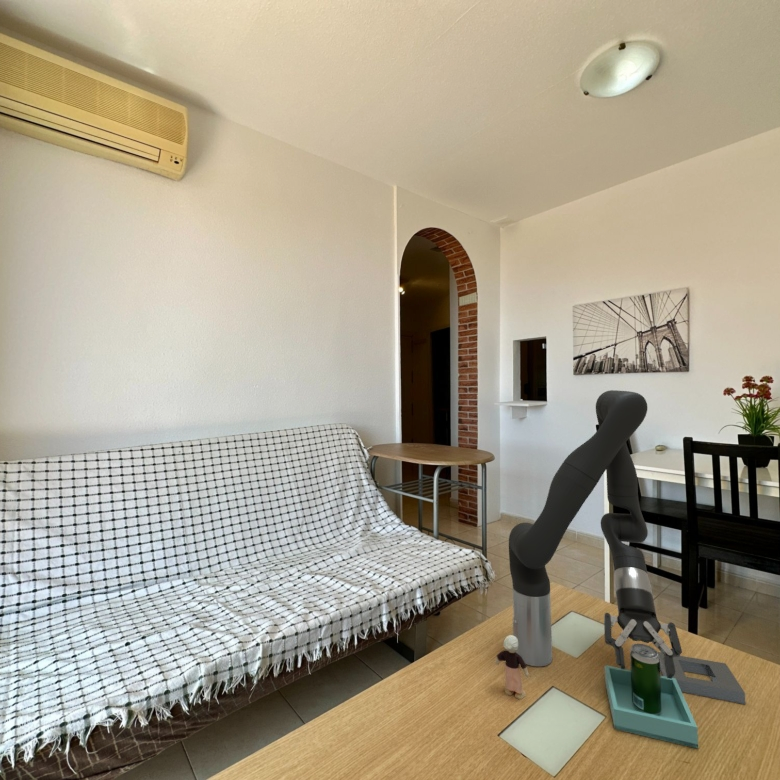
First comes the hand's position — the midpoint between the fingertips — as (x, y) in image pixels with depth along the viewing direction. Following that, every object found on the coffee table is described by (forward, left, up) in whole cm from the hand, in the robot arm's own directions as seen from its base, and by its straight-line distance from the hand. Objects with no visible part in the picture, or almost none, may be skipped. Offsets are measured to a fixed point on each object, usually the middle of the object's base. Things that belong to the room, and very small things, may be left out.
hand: (646, 673), depth 86 cm
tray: (0, +1, -9) cm, 9 cm away
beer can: (0, +1, -8) cm, 8 cm away
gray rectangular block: (+13, +15, -9) cm, 22 cm away
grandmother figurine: (-27, -2, -9) cm, 29 cm away
